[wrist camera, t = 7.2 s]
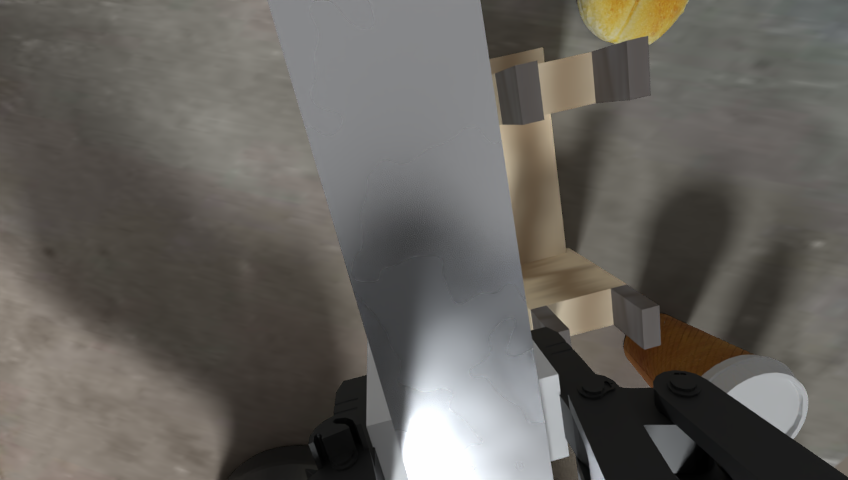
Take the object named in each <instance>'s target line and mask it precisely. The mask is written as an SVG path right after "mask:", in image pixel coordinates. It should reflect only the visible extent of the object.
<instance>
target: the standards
mask: <svg viewBox="0 0 848 480" xmlns="http://www.w3.org/2000/svg"><path fill="white" fill-rule="evenodd" d="M489 61H490V67H491V74H492V80H493V87H494V93H495V100H496V106H497V113H498V120H499V126H500V133H501V139H502V146H503V152H504V159H505V165H506V172H507V179H508V185H509V192H510V198H511V205H512V211H513V218H514V224H515V231H516V238H517V244H518V251H519V257H520V264H521V270H522V277H523V283H524V290H525V297H526V303H527V310H528V316H529V323H530V329H531V330H535V329H539V328H543V327H548V328H550V329H552V330H554V331H556V332H558V333H559V334H560V335H561V336H562V337H563V338H564V339H565V341H566V343H568V344H569V345H570V346H571V338H570V336H573V335H576V334H580V333H584V332H588V331H591V330H595V329H599V328H603V327H606V326H610V325H615V326H616V327H617V328H618V329H620V330H621V331H622V332H623V333H624V334H626V335H627V336H628V337H629V338H631V339H632V340H633V341H634V342H635V343H637V344H638V345H639V346H640V347H641V348H643V349H644V350H645V349H649V348H652V347H656V346H660V345H661V333H660V309H659V305H658V304H656V303H655V302H653V301H652V300H650V299H649V298H647V297H645V296H644V295H642V294H641V293H639V292H637V291H636V290H634V289H633V288H631V287H629V286H628V285H627V284H626V283H624V282H622V281H621V280H619V279H618V278H616V277H614V276H613V275H611V274H610V273H608V272H606V271H605V270H603V269H602V268H600V267H599V266H597V265H595V264H594V263H592V262H591V261H589V260H587V259H586V258H584V257H583V256H581V255H579V254H578V253H576V252H575V251H573V250H571V249H570V248H566V244H565V236H564V227H563V218H562V209H561V201H560V192H559V183H558V174H557V166H556V157H555V148H554V139H553V131H552V122H551V113H555V112H560V111H564V110H568V109H573V108H577V107H581V106H585V105H590V104H594V103H603V102H614V101H625V100H632V99H637V98H641V97H645V96H650V95H651V91H650V67H649V43H648V36H645V37H640V38H636V39H631V40H627V41H624V42H621V43H618V44H614V45H611V46H608V47H605V48H602V49H599V50H596V51H593V52H589V53H584V54H580V55H576V56H571V57H567V58H562V59H558V60H553V61H549V62H545V61H544V52H543V47H542V48H537V49H533V50H528V51H524V52H519V53H515V54H510V55H506V56H501V57H497V58H492V59H489Z"/></svg>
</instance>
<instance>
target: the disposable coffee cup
mask: <svg viewBox="0 0 848 480" xmlns="http://www.w3.org/2000/svg"><path fill="white" fill-rule="evenodd" d="M660 333H661V345H660V346H656V347H652V348H649V349H645V350H644V349H643V348H641V347H640V346H639V345H638V344H637V343H635V342H634V341H633V340H632V339H631V338H629V337H628V336H627V335H626V337H625V341H624V352H625V355H626V357H627V359H628V360H629V361H630V362H631V363H632V365H633V366H634V367H635V368H636V370H637V371H638V372H639V374H640V375H641V376H642V377H643V378H644V380H645V381H646V382H647V383H648V385H649V386H650V387H651V388H653V381H654V379H655V377H656V376H657V375H659V374H661V373H662V372H666V371H671V370H679V371H687V372H691V373H695V374H697V375H699V376H701V377H703V378H705V379H707V380H708V381H710V382H711V383H713V384H714V385H716V386H717V387H718V388H720V389H721V390H723V391H724V392H726V393H727V394H729V395H730V396H731V397H733V398H734V399H736V400H737V401H739V402H740V403H742V404H743V405H744V406H746V407H747V408H749V409H750V410H752V411H753V412H755V413H756V414H757V415H759V416H760V417H762V418H763V419H765V420H766V421H767V422H769V423H770V424H772V425H773V426H775V427H776V428H778V429H779V430H780V431H782V432H783V433H785V434H786V435H788V436H789V437H791V438H792V439H794V437H795V436H796V435H797V434H798V432H799V431H800V429H801V427H802V425H803V423H804V421H805V418H806V415H807V411H808V396H807V392H806V390H805V388H804V386H803V385H802V384H801V382H800V381H799V380H798V379H796V378H795V376H794V374H793V373H792V371H791V370H790V369H789V368H788V367H787V366H786V365H785V364H783V363H782V362H780V361H778V360H776V359H773V358H769V357H764V356H760V355H754V354H752V353H751V354H750V353H749V352H747V351H746V350H743V349H741V348H739V347H736V346H734V345H732V344H729V343H728V342H726V341H723V340H721V339H719V338H716V337H715V336H712V335H710V334H708V333H706V332H704V331H701V330H699V329H697V328H695V327H693V326H690V325H688V324H686V323H684V322H682V321H680V320H677V319H675V318H673V317H671V316H669V315H667V314H662V313H660Z"/></svg>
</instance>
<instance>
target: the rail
mask: <svg viewBox="0 0 848 480" xmlns="http://www.w3.org/2000/svg"><path fill="white" fill-rule="evenodd" d="M268 4H269V7H270V10H271V14H272V17H273V21H274V24H275V27H276V31H277V34H278V37H279V41H280V44H281V48H282V51H283V54H284V58H285V61H286V65H287V68H288V71H289V75H290V78H291V81H292V85H293V88H294V92H295V95H296V98H297V102H298V105H299V109H300V112H301V115H302V119H303V122H304V125H305V129H306V132H307V136H308V139H309V142H310V146H311V149H312V152H313V156H314V159H315V163H316V166H317V169H318V173H319V176H320V180H321V183H322V186H323V190H324V193H325V196H326V200H327V203H328V207H329V210H330V213H331V217H332V220H333V224H334V227H335V230H336V234H337V237H338V240H339V244H340V247H341V251H342V254H343V257H344V261H345V264H346V267H347V271H348V274H349V278H350V281H351V284H352V288H353V291H354V295H355V298H356V301H357V305H358V308H359V311H360V315H361V318H362V322H363V325H364V328H365V332H366V335H367V339H368V342H369V345H370V349H371V352H372V355H373V359H374V362H375V366H376V369H377V372H378V376H379V379H380V382H381V386H382V389H383V393H384V396H385V399H386V403H387V406H388V410H389V413H390V416H391V420H392V423H393V426H394V430H395V433H396V437H397V440H398V443H399V447H400V450H401V454H402V457H403V460H404V464H405V467H406V470H407V474H408V477H409V480H553V474H552V467H551V460H550V454H549V447H548V441H547V434H546V428H545V421H544V415H543V408H542V401H541V395H540V388H539V382H538V375H537V369H536V362H535V356H534V349H533V342H532V336H531V329H530V323H529V316H528V310H527V303H526V297H525V290H524V283H523V277H522V270H521V264H520V257H519V251H518V244H517V238H516V231H515V224H514V218H513V211H512V205H511V198H510V192H509V185H508V179H507V172H506V165H505V159H504V152H503V146H502V139H501V133H500V126H499V120H498V113H497V106H496V100H495V93H494V87H493V80H492V74H491V67H490V61H489V54H488V47H487V41H486V34H485V28H484V21H483V15H482V8H481V2H480V0H268Z"/></svg>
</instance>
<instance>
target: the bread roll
mask: <svg viewBox="0 0 848 480" xmlns="http://www.w3.org/2000/svg"><path fill="white" fill-rule="evenodd" d="M688 1H689V0H577V4H578V8H579V12H580V15H581V18H582V20H583V21H584V24H585V25H586V26H587V28H588V29H589V30H590V31H591V32H592V33H593V34H594V35H596V36H597V37H599V38H600V39H601V40H604V41H606V42H610V43H613V44H618V43H621V42H624V41H627V40H631V39H636V38H640V37H645V36H648V43H649V45H650V44H652V43H653V42H654V41H656V40H657V39H658V38H660V37H661V36H662V35H663V34H664V33H665V32H666V31H667V30H668V29H669V28H670V27H671V26H672V25H673V23H674V22H675V21H676V20H677V19H678V17H679V16H680V15H681V14H682V13H683V12H684V9H685V6H686V4H687V3H688Z"/></svg>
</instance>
